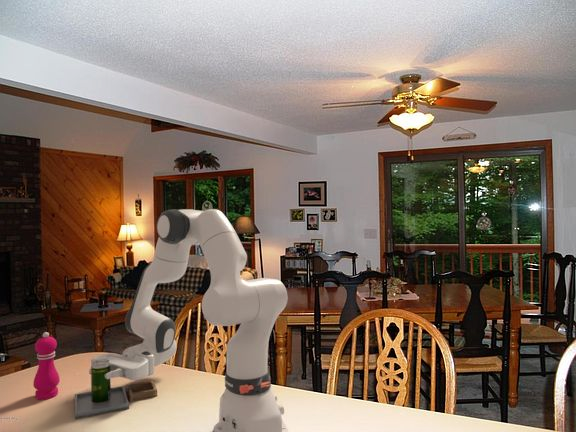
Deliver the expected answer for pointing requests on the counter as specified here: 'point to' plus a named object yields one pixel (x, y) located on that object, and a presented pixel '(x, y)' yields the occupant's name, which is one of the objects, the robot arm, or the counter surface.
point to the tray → (87, 408)
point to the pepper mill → (46, 368)
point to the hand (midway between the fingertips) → (98, 374)
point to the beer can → (100, 382)
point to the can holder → (143, 393)
